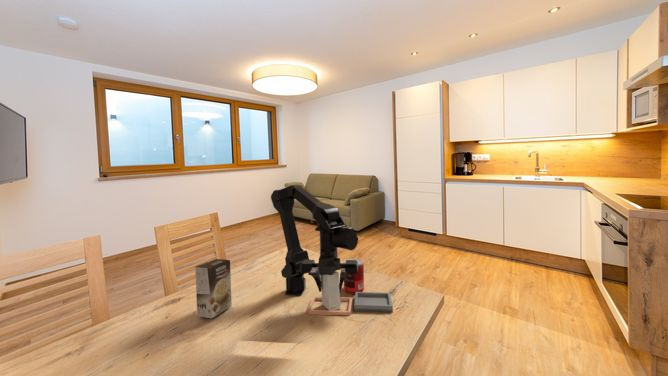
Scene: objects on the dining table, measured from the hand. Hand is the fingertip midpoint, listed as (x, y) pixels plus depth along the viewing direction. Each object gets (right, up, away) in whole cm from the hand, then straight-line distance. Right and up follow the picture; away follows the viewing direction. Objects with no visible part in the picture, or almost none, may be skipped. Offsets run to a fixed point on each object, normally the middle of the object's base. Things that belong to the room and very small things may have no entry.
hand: (330, 291), depth 91 cm
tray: (+14, -5, +1) cm, 15 cm away
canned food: (+9, -5, +13) cm, 17 cm away
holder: (0, -5, 0) cm, 5 cm away
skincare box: (0, -5, 0) cm, 5 cm away
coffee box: (-38, -7, 0) cm, 39 cm away
